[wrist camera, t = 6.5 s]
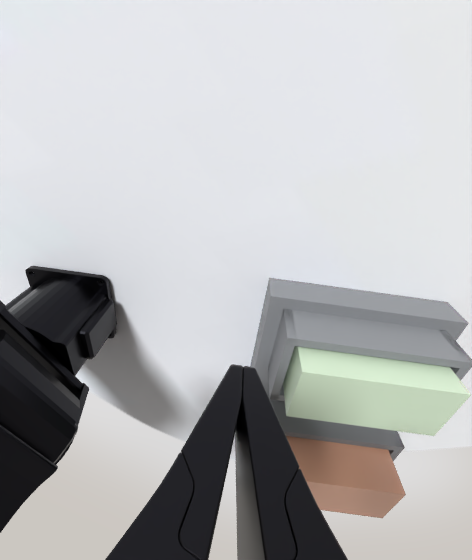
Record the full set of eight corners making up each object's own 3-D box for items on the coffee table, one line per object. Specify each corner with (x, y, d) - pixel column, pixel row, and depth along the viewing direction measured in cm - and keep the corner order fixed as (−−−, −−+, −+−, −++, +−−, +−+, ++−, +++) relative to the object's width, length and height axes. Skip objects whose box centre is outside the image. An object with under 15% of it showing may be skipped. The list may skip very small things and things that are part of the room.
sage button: (281, 368, 22) (286, 415, 18) (294, 326, 19) (302, 371, 16) (406, 385, 22) (434, 436, 18) (433, 345, 19) (471, 394, 16)
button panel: (240, 414, 31) (237, 468, 26) (269, 277, 21) (272, 324, 16) (363, 431, 31) (383, 488, 26) (447, 302, 21) (501, 355, 17)
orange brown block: (260, 450, 26) (261, 502, 22) (269, 424, 24) (271, 476, 20) (365, 464, 26) (382, 518, 22) (384, 439, 24) (405, 494, 20)
